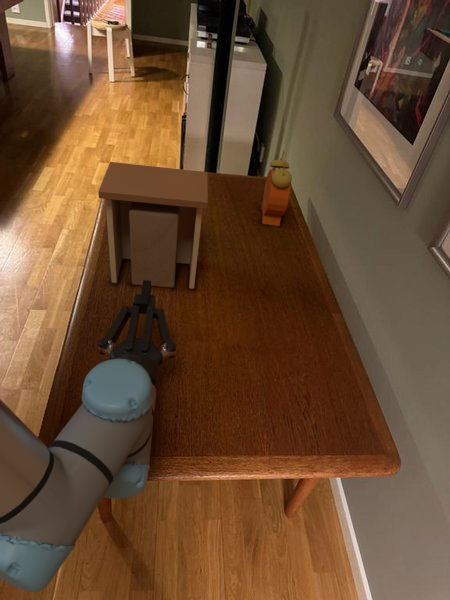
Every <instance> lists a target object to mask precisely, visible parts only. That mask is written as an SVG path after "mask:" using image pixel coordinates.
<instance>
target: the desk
mask: <svg viewBox="0 0 450 600" xmlns="http://www.w3.org/2000/svg"><path fill="white" fill-rule="evenodd" d="M208 176H209V173H208V172H207V171H198V170H189V169H183V168H182V169H181V168H174V167H173V168H172V167H171V168H170V167H162V166H152V165H145V164H137V163H136V164H135V163H125V162H117V161H109V163H108V166H107V169H106V171H105V174H104V176H103V178H102V181H101V183H100V186H99V188H98V190H97V191H98V199H101V200H102V199H104V200H105V213H106V224H107V225H106V227H107V240H108V251H109V252H108V253H109V268H110V279H111V284H112V283H113V284H117V283H118V280H119V275H120V272H121V267H122V263H123V259H124V260H131V248H130V218H129V211H130V207H131V203H132V202H143V203H153V204H163V205H173V206H180V210H179V226H178V242H177V258H176V264H187V265H189V281H188V284H189V285H188V287H189V288H188V289H195V283H196V274H197V265H198V258H199V257H198V256H199V246H200V239H201V237H200V236H201V229H202V219H203V209H206V210H207V209H208V207H209V206H208V205H209V180H208V179H209V177H208Z"/></svg>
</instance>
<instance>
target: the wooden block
mask: <svg viewBox="0 0 450 600" xmlns="http://www.w3.org/2000/svg"><path fill="white" fill-rule="evenodd" d="M179 210H180V206H173V205H163V204H153V203H143V202H132V203H131V207H130V211H129V218H130V248H131V259H130V273H131V275H130V276H131V284H132V285H133V286H143V280H148V281H151V287H158V288H159V287H160V288H169V289H171V288H174V287H175V283H176V271H177V270H176V269H177V263H176V258H177V242H178V226H179Z"/></svg>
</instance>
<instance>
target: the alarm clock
mask: <svg viewBox="0 0 450 600" xmlns="http://www.w3.org/2000/svg"><path fill="white" fill-rule="evenodd" d="M283 157H284V160H283ZM269 167H270V168H273V169H269V170H268V172H267V174H266V178H265V179H266V180H265V183H264V187H263V188H264V189H263V195H262V196H263V197H262V203H261V206H260V211H261V212H262V213H261V214H262V217H261V223H262V225H268V226H269V225H270V226H275V227H276V226H277V227H280V225H281V220H282V217H283V216H285V214H286V211H287V208H288V206H289V201H290V197H291V192H292V191H291V190H292V180H293V176H292V173H291V171H289V169H290V164H289V162H287V157H286V151H285V150H282V154H281V157H280V158H279V159H273V160H272V161H271V162H270V164H269Z"/></svg>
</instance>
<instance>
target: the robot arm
mask: <svg viewBox="0 0 450 600" xmlns="http://www.w3.org/2000/svg"><path fill="white" fill-rule="evenodd" d="M151 293H152V286H151V281H148V280H143V285H141V293H135V295H134V299H133V302H132V306H127V305H123V306H122V307H121V309H120V310H119V312H118V313H117V315H116V317H115V319H114V321H113V322H112V324H111V326H110V328H109V329H108V330H107V333H106V335H104V336H103V337H102V338H100V339H99V340H98V342H97V347H98V354H99V355H101V356H102V355H103V356H104V355H106V356H108V357H109V359H108V360H105V361H102V362H100V363H98V364H97V365H96V366H94V367H93V368H91V370H89V372H88V373H87V375H86V376H85V378H84V381H83V385H82V391H81V397H80V398H81V401H82V403H81V405H80V406H79V408H78V409H77V410H76V411H75V413H74V414H73V415H72V417H71V418H70V419H69V420H68V422H67V423H66V424H65V426H64V427H63V428H62V429H61V431H60V432H59V433H58V434H57V436H56V438H55V439H54V440H53V441H52V442H51V443H50V445H49V446H48V447H47V445H46V444H45V443H44V442H43V441H42V440H41V439H40V438H39V437H38V436H37V435H36V434H35V433H34V432H33V431H32V430H31V429H30V427H28V426H27V424H25V423H24V421H23V420H21V418H20V417H19V416H18V415H17V414H16V413H15V412H14V411H13V410H12V409H11V408H10V407H9V406H8V405H7V404H6V403H5V402H4V401H3V400H2V399H1V398H0V579H1V580H3V582H6V583H8V584H10V585H11V586H14V587H15V588H17V589H20V590H22V591H24V592H27V593H38V592H41V591H43V590H45V589H46V588H47V587H48V586H49V585H50V583H51V582H52V580H53V579H54V577H55V576H56V574H57V573H58V572H59V570H60V569H61V567H62V566H63V564H64V563H65V562H66V560H67V559H68V557H69V556H70V554H71V553H72V552H73V551H74V549H75V547H76V545H77V544H76V543H77V542H78V539H79V538H80V536H81V534H82V533H83V532H84V530H85V528H86V526H87V524H88V523H89V521H90V519H91V518H92V516H93V514H94V513H95V511H96V509H97V507H98V505H99V504H100V502H101V501H102V499H103V498H105V499H114V500H121V499H122V500H125V499H129V498H133V497H136V496H138V495H140V494H141V493H142V492H143V491H144V490H145V489H146V487H147V483H148V476H149V471H150V469H151V465H150V460H151V450H152V439H153V426H154V424H153V423H154V418H155V416H154V415H155V410H156V400H157V387H158V380H159V379H158V378H159V370H160V366H161V365H162V363H163V360H165V359H167V358H169V359H174V358H175V357H176V352H177V345H176V344H175V342H174V341H173V340H172V338H171V336H170V331H169V326H168V323H167V318H166V315H165V310H164V308H163V307H159V308H157V307H156V295H155V294H151ZM140 315H145V320H144V327H143V332H142V337H137V334H138V328H139V321H140ZM154 320H156V324H157V328H158V332H159V337H160V341H161V350H160V349H159V348H158V347H157V345H156V344H155V343H154V342H153V341H152V335H153V334H152V333H153V325H154ZM128 321H129V324H128V330H127V333H126V338H125V339H124V340H122V341H121V342H119V344H117V345H116V343H117V341H118V339H119V337H120V336H121V334H122V332H123V330H124V328H125V327H126V324H127V323H128ZM115 345H116V346H115Z"/></svg>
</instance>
